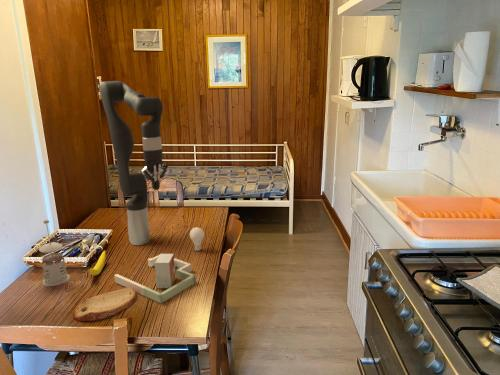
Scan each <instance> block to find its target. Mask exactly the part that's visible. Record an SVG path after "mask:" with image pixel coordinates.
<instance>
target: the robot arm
mask: <svg viewBox="0 0 500 375" xmlns="http://www.w3.org/2000/svg"><path fill="white" fill-rule="evenodd" d="M99 95H100V98H101V102H102V105H103V108H104V112H105V116H106V119H107V123H108V127H109V134H110V139H111V144H112V148H113V151H114V155H115V156H114V157H115V160H116V164H117V167H116V168H117V173H118V180H119V181H118V182H119V186H120V187H119V188H120V190H121V193H123V195H124V196H125V197H129V196H132V197H131V199H129V200H128V201H127V202H126V214H127V215H126V216H127V224H126V225H127V232H128V233H127V234H128V240H129V241H128V242H130V244H131V245H133V246H144V245H146V244H148V243H150V242H151V234H150V224H149V213H148V200H149V199H148V196H149V195H148V182H147V181H151V187H152V190H155V191H157V190H160V187H161V186H160V185H161V184H160V180H161V179H163V178H164V177H165V174H166V172H167V169H168V167H169V166H168V165H167V164H165V163H164V161H163V158H164V157H163V156H164V155H163V154H164V153H163V145H162V143H163V142H162V138H161V127H160V126H161V121H162V116H163V109H164V108H163V101H162V100H161V98H159V97H157V96H146V95H144V94H143V93H140V92H138V91H136V90H134V89H133V88H132V87H130V86H129V85H127V83H125V82H124V81H121V80H110V81H109V80H107V81H101V82H100V84H99ZM121 102H124V103H125V105H126V106H127V107H129V108H130V109H132V110H134V111H135V113H136V114H137V115H138V116H142V117H145V116H151V117H150V118H149V120H147V121H144V122H142V123H141V136H142V137H141V138H142V154H143V160H144V168H142V169H140V172H136V173H133V174H132V173H131V174H130V166H129V165H130V161H131V157H132V154H133V151H134V148H135V140H134V136H133V132H132V129H131V127H130V126H129V125H128V124H127V123H126V122H125V121H124V119H123V118H121V116H120V115H119V114H118V112H117V111H116V110H117V109H116V107H115V106H114V103H121Z"/></svg>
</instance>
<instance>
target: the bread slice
mask: <svg viewBox="0 0 500 375" xmlns="http://www.w3.org/2000/svg"><path fill="white" fill-rule="evenodd" d="M137 298H138V293H137V292H135V291H134V290H133V289H130V288H126V287H124V288H120V289H115V290H112V291H108V292H105V293H100V294H97V295H95V296H92V297H88V298H86V299H83V300H82V301H81V302H80V303H79V304H78V305H76V307H75V309H74V311H73V316H72V319H73V320H74V321H76V322H78V323H83V322H88V321H89V322H93V321H95V322H96V321H100V320H103V319H106V318H109V317H112V316H115V315H116V314H118V313H119V312H122V311H124V310H126V309H127V308H129V307H130V306H131V305H133V304H134V303H135V302H136V301H137Z"/></svg>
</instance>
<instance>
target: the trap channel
mask: <svg viewBox="0 0 500 375" xmlns="http://www.w3.org/2000/svg"><path fill="white" fill-rule="evenodd" d="M159 255H160V254H158V255H156V256H153V257H152V258H150V257H149V258H147V265H148V267H151V268H152V267H155V264H154V263H155V262H156V260H157V258H158V257H159ZM174 262H175V275H176V278H178V279H181V281H179V282H177V283H176V284H173V285H172V287H171V288H166V290H164V291H162V292H159V291H156V290H154V289H152V288H150V287H148V286H145V285H143V284H141V283H138V282H137V281H134V280H131V279H129V278H127V277H125V276H122V275H120V274H119V273H118V274H117V273H116V274H114V275H113V277H114V282H115V283H116V284H118V285H120V286H122V287H123V288H130V289H133V290H134V291H135V292H136V294H140V295H141V296H143V297H144V296H145V298H148V299H150V300H153V301H155V302H157V303H158V304H163V303H164V302H166V301H168V300H169V299H171V298H172V297H175V296H177V294H179V293H181V292H182V291H184V290H186V289H187V288H189V287H191V286H193V285H194V284H195V283H197V280H196V279H197V278H196V276H197V275H196V274H193V273H191V272H192V263H190V262H186V261H184V260H181V259H178V258H175V257H174Z"/></svg>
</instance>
